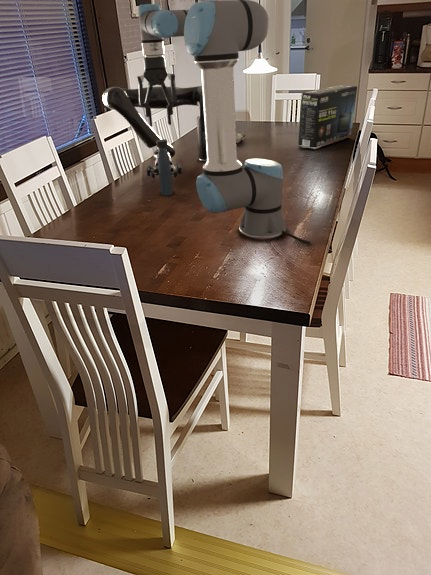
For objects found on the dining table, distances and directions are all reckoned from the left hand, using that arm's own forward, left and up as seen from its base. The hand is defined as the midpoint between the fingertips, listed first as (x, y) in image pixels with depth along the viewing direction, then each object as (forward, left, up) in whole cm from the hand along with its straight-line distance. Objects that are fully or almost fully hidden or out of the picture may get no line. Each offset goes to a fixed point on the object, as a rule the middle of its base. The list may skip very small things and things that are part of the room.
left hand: (164, 175), depth 184 cm
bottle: (+2, +1, -7) cm, 7 cm away
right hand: (+2, +1, +20) cm, 20 cm away
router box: (-90, +53, -7) cm, 105 cm away
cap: (+2, +1, +14) cm, 14 cm away
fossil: (-83, +1, -7) cm, 84 cm away
